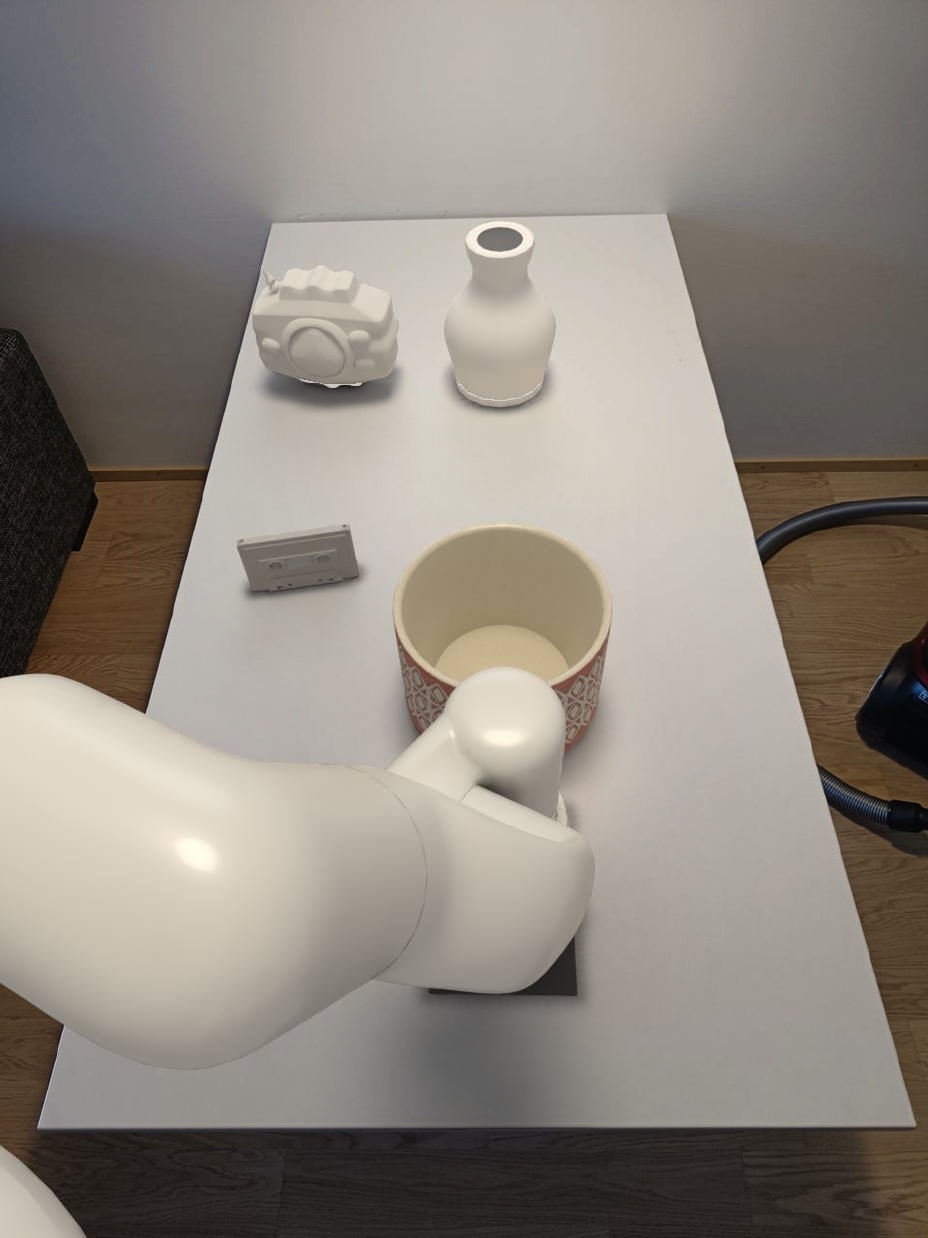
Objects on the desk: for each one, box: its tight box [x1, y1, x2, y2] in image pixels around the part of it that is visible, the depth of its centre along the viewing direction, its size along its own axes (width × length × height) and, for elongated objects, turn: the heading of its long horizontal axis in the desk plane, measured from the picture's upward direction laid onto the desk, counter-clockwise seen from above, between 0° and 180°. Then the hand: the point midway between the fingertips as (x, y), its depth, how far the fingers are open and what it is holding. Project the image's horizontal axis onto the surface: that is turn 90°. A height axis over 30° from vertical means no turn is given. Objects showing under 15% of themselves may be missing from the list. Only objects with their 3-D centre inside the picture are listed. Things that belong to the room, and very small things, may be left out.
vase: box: [443, 220, 557, 408], centre depth 111 cm, size 14×14×20 cm
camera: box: [252, 265, 400, 384], centre depth 113 cm, size 11×18×16 cm, turn 82°
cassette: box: [236, 523, 360, 592], centre depth 95 cm, size 12×2×8 cm, turn 100°
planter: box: [392, 522, 613, 753], centre depth 83 cm, size 19×19×15 cm
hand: (502, 893), depth 76 cm, fingers closed on bar, 4 cm apart
